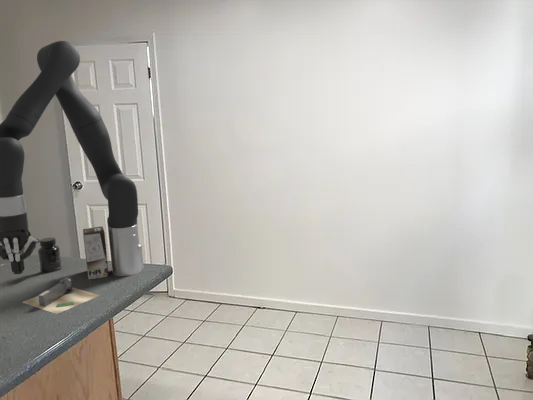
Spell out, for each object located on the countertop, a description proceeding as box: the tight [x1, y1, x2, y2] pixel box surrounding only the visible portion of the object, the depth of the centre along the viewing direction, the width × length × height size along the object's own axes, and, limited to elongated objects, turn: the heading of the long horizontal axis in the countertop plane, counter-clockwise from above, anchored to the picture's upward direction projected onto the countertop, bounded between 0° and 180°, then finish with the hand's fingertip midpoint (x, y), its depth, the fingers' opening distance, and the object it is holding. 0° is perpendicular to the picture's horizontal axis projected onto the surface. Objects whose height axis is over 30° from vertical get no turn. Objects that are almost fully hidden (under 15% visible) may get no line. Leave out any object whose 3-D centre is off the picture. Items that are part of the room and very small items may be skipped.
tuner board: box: [22, 286, 101, 315], centre depth 135 cm, size 14×16×2 cm
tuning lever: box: [37, 276, 73, 306], centre depth 135 cm, size 12×3×4 cm, turn 167°
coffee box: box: [82, 226, 110, 280], centre depth 154 cm, size 9×6×16 cm
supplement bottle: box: [37, 237, 63, 273], centre depth 160 cm, size 7×7×12 cm
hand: (18, 273), depth 130 cm, fingers closed
